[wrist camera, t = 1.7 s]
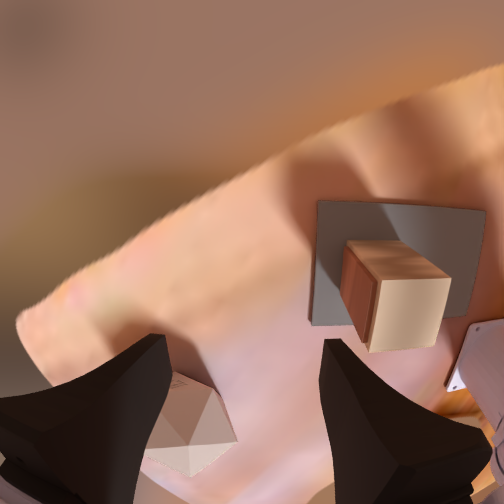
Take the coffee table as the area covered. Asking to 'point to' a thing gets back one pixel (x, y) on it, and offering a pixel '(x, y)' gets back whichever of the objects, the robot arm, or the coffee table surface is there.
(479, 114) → the coffee table surface
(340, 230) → the slate mat
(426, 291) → the maple block
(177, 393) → the die
